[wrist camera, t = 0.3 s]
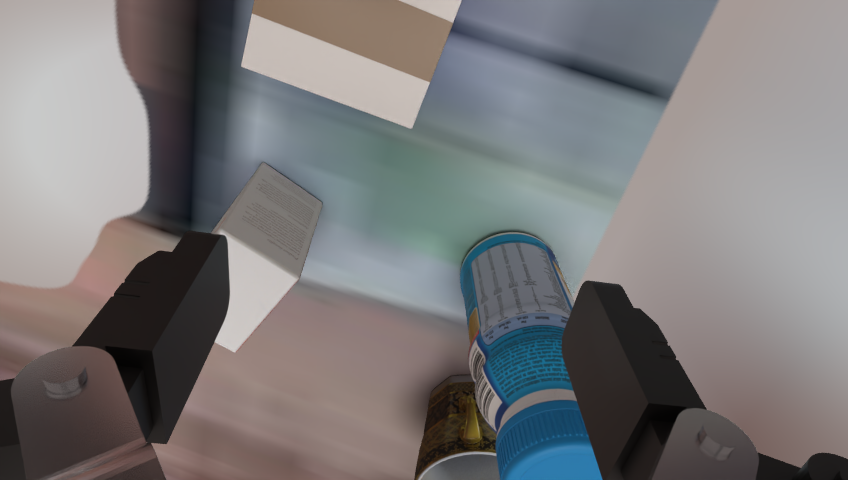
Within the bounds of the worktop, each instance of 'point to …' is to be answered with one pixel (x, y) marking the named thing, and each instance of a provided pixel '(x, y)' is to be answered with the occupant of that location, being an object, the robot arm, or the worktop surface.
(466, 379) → the ceramic cup
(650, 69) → the worktop surface
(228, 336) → the small box
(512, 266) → the teal labeled canister
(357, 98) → the floor panel
